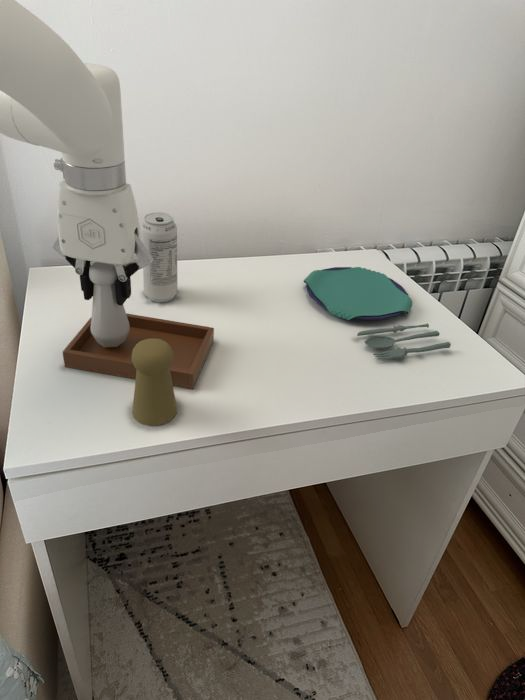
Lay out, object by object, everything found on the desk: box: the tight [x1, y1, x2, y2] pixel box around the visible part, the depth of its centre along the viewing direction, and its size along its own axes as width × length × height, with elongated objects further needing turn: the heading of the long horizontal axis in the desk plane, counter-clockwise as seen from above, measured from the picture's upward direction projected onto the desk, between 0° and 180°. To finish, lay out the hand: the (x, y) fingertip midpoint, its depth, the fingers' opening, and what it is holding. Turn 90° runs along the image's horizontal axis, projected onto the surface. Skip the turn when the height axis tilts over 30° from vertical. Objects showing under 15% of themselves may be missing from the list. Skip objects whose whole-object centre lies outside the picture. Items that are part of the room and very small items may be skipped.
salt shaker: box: [89, 262, 130, 347], centre depth 79 cm, size 6×6×13 cm
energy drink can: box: [140, 212, 178, 303], centre depth 94 cm, size 6×6×15 cm
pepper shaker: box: [131, 338, 178, 427], centre depth 70 cm, size 6×6×11 cm
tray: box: [62, 312, 215, 390], centre depth 83 cm, size 20×13×3 cm, turn 81°
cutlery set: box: [303, 266, 452, 361], centre depth 99 cm, size 20×30×2 cm, turn 19°
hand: (107, 297), depth 78 cm, fingers closed on salt shaker, 4 cm apart
